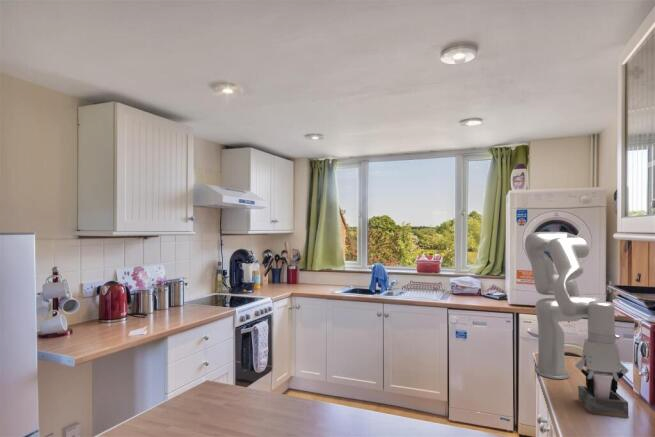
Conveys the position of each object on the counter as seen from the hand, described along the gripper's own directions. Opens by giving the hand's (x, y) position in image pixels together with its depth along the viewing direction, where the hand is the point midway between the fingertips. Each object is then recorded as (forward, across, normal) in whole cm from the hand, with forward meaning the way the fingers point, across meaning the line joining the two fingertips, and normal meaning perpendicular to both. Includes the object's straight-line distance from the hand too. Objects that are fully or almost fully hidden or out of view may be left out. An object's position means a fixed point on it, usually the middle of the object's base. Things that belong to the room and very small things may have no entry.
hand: (601, 389), depth 130 cm
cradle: (+6, 0, 0) cm, 6 cm away
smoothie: (+4, 0, 0) cm, 4 cm away
